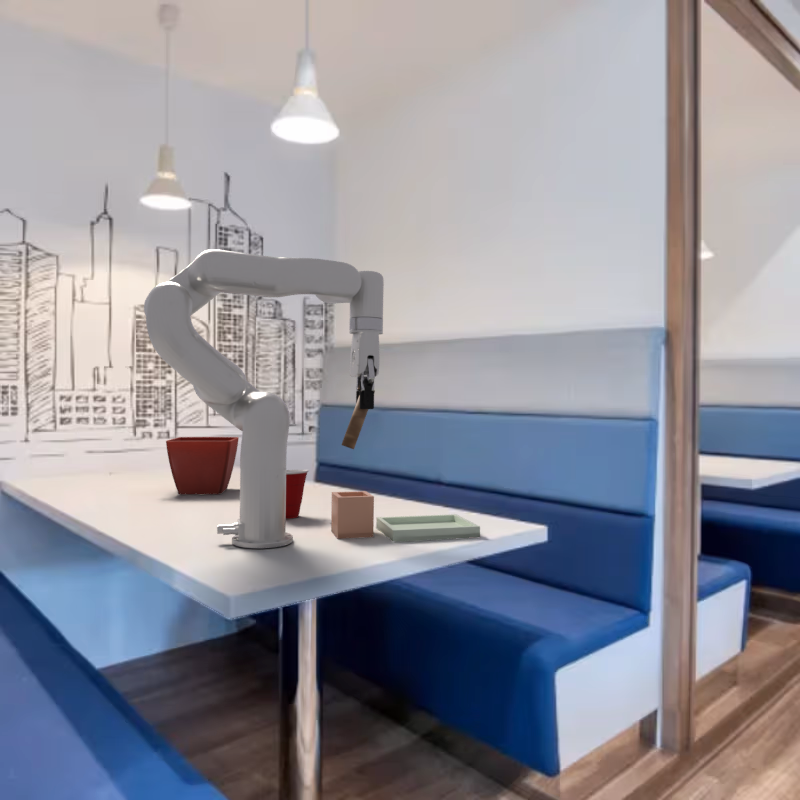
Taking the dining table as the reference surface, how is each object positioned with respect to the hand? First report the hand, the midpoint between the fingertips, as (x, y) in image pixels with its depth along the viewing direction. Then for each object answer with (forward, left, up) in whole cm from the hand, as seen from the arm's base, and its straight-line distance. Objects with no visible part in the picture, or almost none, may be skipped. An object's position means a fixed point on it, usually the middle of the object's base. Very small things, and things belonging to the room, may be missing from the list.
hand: (364, 408), depth 149 cm
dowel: (-1, 0, -9) cm, 9 cm away
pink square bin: (-3, 0, -28) cm, 29 cm away
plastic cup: (-15, +24, -29) cm, 40 cm away
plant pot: (-36, +70, -29) cm, 84 cm away
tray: (+14, -2, -28) cm, 32 cm away
